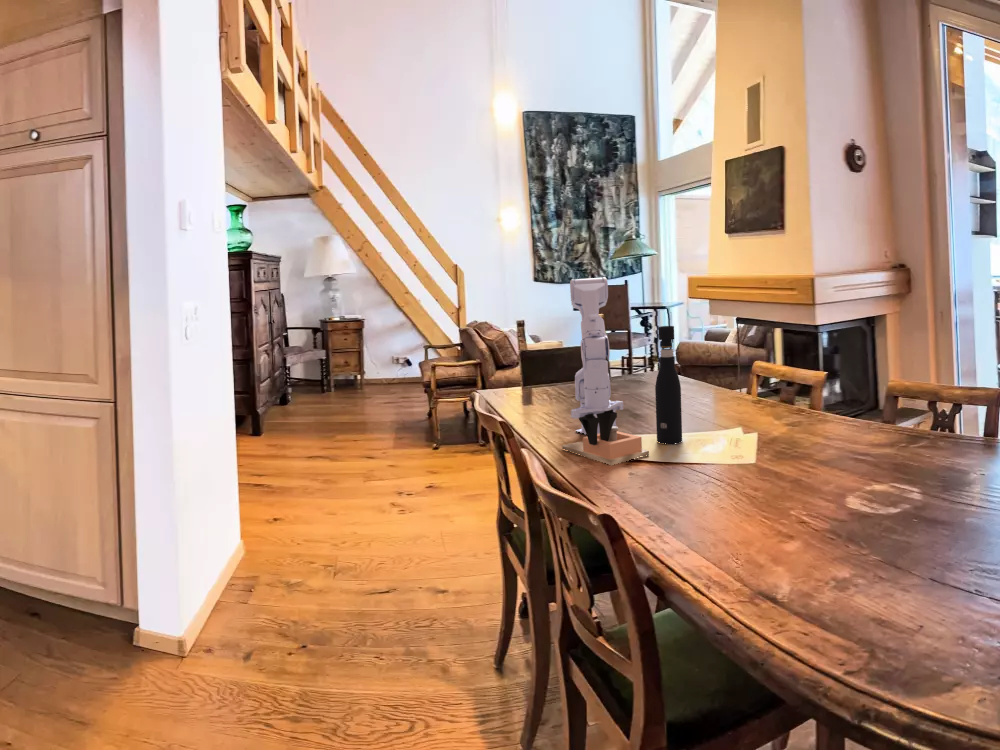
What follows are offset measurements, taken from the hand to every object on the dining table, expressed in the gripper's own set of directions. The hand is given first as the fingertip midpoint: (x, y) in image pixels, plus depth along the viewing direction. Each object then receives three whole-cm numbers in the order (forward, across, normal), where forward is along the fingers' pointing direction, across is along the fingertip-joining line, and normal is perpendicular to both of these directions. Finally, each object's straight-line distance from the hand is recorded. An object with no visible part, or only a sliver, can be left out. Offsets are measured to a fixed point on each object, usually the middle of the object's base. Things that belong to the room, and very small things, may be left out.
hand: (599, 442), depth 153 cm
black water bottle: (+4, +23, 0) cm, 24 cm away
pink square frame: (+3, +4, 0) cm, 5 cm away
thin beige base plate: (+4, +4, +4) cm, 7 cm away
